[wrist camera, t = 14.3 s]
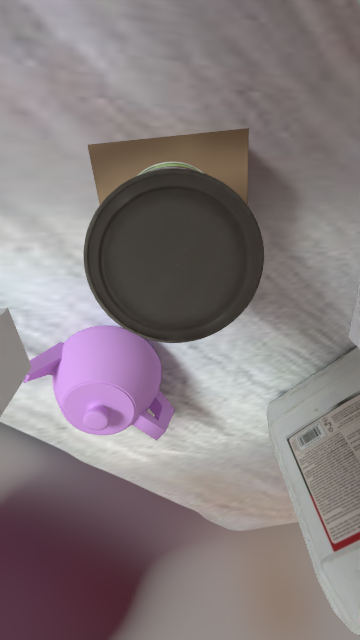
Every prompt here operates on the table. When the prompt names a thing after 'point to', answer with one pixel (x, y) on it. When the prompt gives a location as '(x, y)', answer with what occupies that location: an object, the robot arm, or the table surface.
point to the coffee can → (173, 254)
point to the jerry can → (325, 475)
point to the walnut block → (173, 158)
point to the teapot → (106, 381)
